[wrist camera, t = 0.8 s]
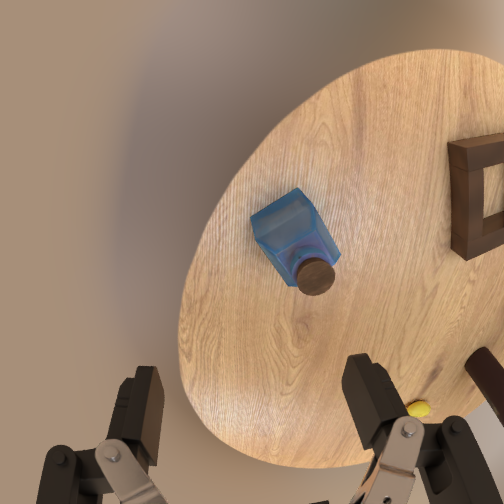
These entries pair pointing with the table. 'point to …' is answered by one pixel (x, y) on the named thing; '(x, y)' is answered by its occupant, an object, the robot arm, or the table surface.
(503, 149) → the holder
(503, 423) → the wine bottle
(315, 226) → the perfume bottle
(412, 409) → the lemon
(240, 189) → the table surface
